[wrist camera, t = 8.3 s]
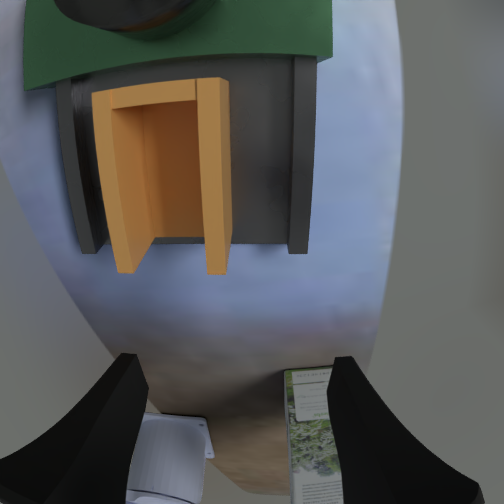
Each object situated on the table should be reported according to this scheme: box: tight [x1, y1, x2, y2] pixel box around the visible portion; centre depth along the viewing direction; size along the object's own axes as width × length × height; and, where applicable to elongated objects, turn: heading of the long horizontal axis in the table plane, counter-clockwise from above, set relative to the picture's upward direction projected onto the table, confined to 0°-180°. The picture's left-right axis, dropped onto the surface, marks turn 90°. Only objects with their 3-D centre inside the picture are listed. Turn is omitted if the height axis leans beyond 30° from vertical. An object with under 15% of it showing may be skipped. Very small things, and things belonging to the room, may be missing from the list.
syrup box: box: [284, 366, 343, 504], centre depth 19 cm, size 6×6×14 cm
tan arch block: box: [92, 77, 232, 275], centre depth 14 cm, size 8×5×4 cm, turn 0°
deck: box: [23, 0, 333, 254], centre depth 11 cm, size 18×15×7 cm
